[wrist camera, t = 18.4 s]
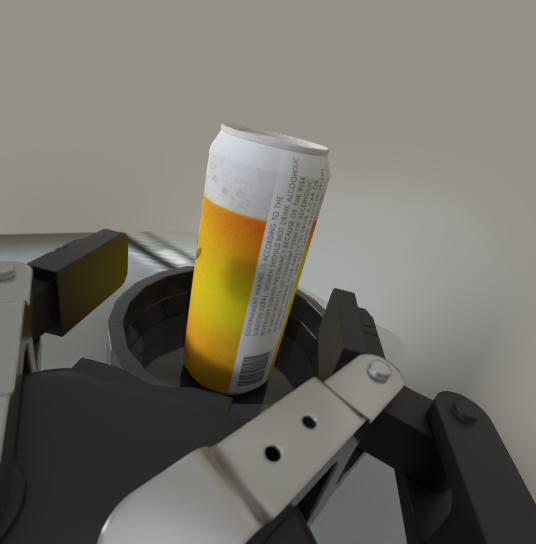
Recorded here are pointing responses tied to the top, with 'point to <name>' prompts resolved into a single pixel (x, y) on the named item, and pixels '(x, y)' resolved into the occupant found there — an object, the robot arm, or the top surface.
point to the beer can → (250, 253)
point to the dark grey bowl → (172, 331)
